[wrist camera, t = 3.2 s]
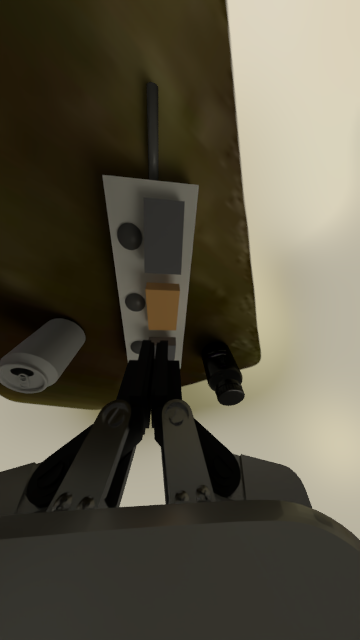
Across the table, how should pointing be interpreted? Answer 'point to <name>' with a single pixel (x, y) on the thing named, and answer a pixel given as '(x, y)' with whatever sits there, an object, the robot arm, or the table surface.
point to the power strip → (129, 241)
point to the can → (41, 356)
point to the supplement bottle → (222, 373)
